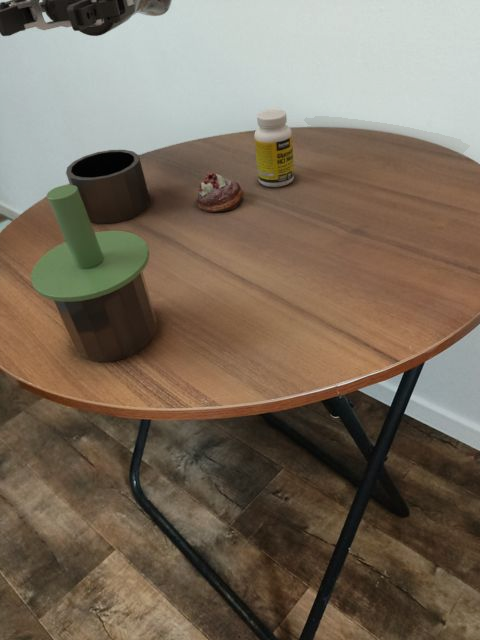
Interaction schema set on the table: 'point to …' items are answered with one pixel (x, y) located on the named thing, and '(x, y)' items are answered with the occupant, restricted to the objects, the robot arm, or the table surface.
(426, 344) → the table surface
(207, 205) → the pastry
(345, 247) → the table surface
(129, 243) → the lid
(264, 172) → the pill bottle
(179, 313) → the table surface
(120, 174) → the tin
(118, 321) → the cup
